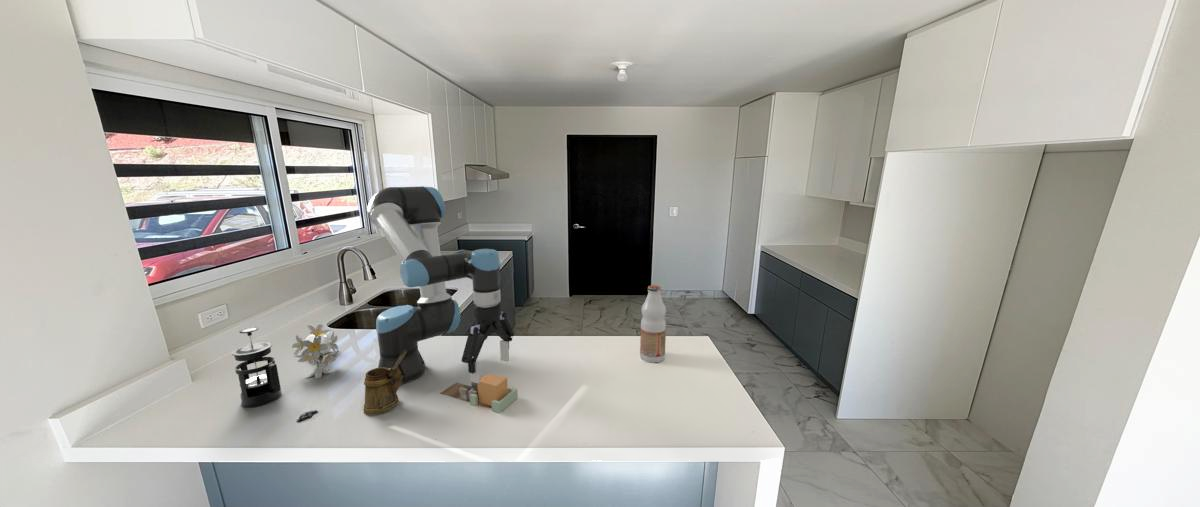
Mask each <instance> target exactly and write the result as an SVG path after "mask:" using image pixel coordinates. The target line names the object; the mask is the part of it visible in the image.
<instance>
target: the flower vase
mask: <svg viewBox="0 0 1200 507" xmlns="http://www.w3.org/2000/svg"><path fill="white" fill-rule="evenodd" d="M307 328H308V330H309V335H308V336H306V338H305V339H304V340H303V338H302V337H301V336H299V334H296V335H295V340H296V342H295V343H293V344H292V346H291V348H292V349H293V350H295V351H294V353H293V358H298V360H297V362H298V363H304V362H307V361H308V363H309V364H310V365H312V366H316V368H314V370H312V371H311V372H310V373H309V374H307V375H306V376H305V379H308V378H310V377H311V378H312V377H313V376H314V378H315V379H321V377H322V376H323V374H332V373H333V371H332V370H330V367H327V366H328V362H329V363H333V362H336V360H337V358H336V355H337V354H338V353H339V352H340V349H339V346H338V344H337V343H336V342H337V340H338V335H335V331H334V330H333V331H332V330H329V329H324V325H323V324H317V325H316V327H314V326H313V325H311V324H310V325H307ZM303 349H304V350H303ZM302 350H303V351H302ZM331 350H332V351H333V352H330V351H331ZM301 351H302V352H301ZM300 352H301V354H300ZM299 354H300V355H299ZM321 356H322V357H323V358H322V360H320V359H319V358H320V357H321ZM319 363H320V364H319ZM321 366H322V367H321Z"/></svg>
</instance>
